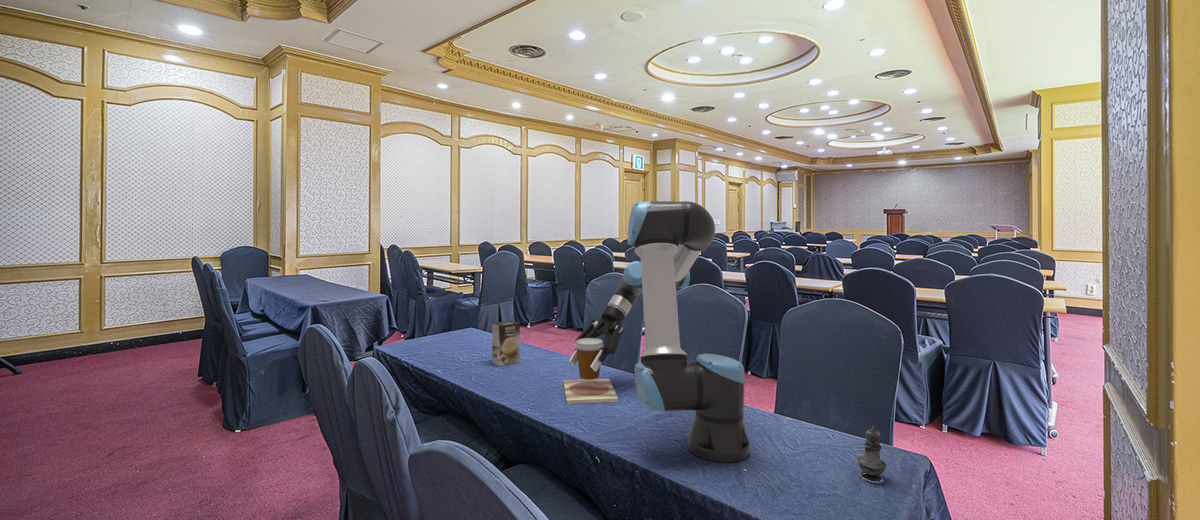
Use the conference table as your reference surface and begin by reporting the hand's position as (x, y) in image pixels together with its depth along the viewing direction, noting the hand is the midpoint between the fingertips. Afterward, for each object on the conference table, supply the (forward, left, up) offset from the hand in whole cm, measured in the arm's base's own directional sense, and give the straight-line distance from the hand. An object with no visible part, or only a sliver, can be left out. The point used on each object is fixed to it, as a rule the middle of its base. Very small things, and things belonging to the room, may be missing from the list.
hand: (582, 366), depth 174 cm
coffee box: (+40, +27, -10) cm, 49 cm away
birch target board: (+2, -2, -9) cm, 10 cm away
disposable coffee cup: (+2, -2, -5) cm, 6 cm away
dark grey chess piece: (-62, -59, -10) cm, 87 cm away
